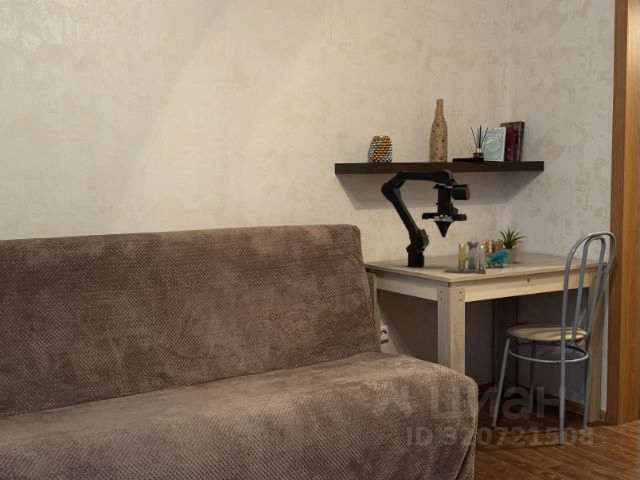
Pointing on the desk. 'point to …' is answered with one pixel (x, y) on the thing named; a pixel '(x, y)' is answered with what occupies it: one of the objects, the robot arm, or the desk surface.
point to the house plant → (510, 245)
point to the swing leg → (462, 256)
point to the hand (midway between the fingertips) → (443, 237)
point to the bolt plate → (463, 271)
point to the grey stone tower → (473, 252)
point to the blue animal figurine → (497, 259)
